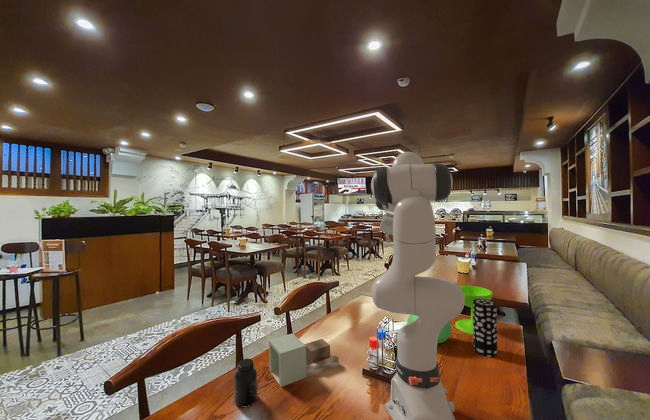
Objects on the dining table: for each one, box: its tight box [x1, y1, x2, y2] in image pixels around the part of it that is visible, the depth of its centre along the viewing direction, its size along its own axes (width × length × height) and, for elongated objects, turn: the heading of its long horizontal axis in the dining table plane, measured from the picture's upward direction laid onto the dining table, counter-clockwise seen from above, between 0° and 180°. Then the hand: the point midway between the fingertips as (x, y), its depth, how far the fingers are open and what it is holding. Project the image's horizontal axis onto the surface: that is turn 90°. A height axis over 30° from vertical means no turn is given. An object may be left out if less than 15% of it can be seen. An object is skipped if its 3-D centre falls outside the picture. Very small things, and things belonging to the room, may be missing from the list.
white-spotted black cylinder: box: [472, 299, 498, 358], centre depth 111 cm, size 8×8×20 cm
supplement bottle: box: [233, 358, 258, 407], centre depth 86 cm, size 7×7×12 cm
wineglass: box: [454, 285, 493, 336], centre depth 132 cm, size 16×16×18 cm
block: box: [304, 338, 331, 366], centre depth 105 cm, size 8×6×7 cm
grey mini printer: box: [270, 354, 340, 388], centre depth 102 cm, size 23×11×4 cm, turn 121°
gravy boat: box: [406, 314, 452, 345], centre depth 121 cm, size 18×17×15 cm
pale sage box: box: [268, 333, 308, 388], centre depth 99 cm, size 10×11×11 cm
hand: (396, 245), depth 130 cm, fingers open, 8 cm apart
